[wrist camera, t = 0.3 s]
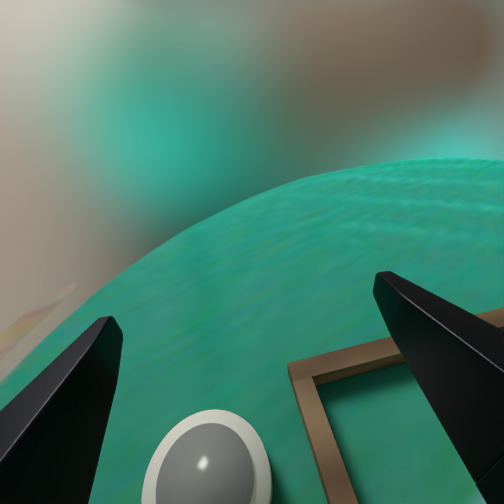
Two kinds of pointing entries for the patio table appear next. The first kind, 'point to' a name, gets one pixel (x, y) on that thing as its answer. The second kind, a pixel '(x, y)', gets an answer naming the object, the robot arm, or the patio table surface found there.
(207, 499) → the push light
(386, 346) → the display bay
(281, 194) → the patio table surface
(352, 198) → the patio table surface
